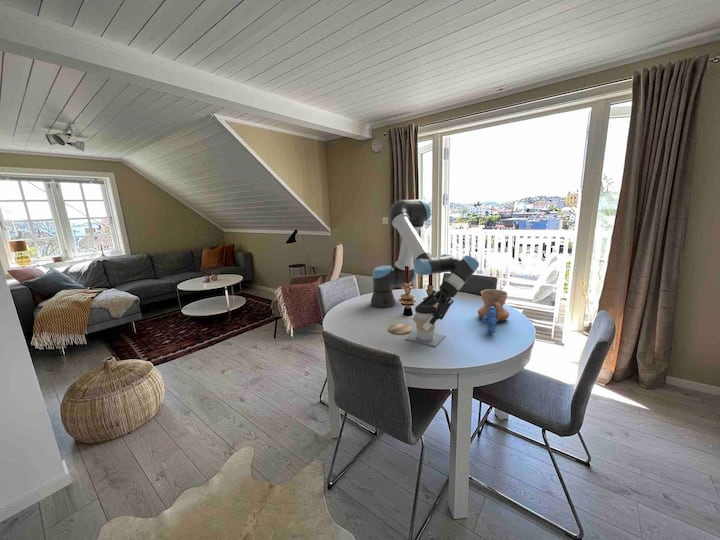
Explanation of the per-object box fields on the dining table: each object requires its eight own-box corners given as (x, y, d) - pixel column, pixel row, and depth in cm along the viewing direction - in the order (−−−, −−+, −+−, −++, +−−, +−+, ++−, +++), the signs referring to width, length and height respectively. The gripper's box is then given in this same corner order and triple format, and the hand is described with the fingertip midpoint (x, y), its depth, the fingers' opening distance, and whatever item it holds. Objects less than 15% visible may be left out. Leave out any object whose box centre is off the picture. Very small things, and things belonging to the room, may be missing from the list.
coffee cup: (419, 331, 136) (419, 300, 133) (438, 335, 132) (438, 303, 129) (412, 339, 129) (411, 306, 126) (432, 343, 124) (432, 309, 121)
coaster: (384, 331, 139) (384, 329, 139) (395, 323, 148) (395, 322, 148) (405, 336, 133) (405, 334, 133) (415, 328, 142) (415, 326, 142)
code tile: (404, 339, 129) (404, 338, 129) (416, 330, 139) (416, 329, 139) (435, 347, 121) (435, 346, 121) (445, 336, 131) (445, 335, 131)
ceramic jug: (475, 312, 160) (476, 287, 157) (504, 313, 156) (505, 287, 154) (480, 325, 143) (481, 297, 140) (513, 326, 139) (514, 298, 136)
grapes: (481, 326, 141) (482, 302, 138) (496, 328, 138) (498, 303, 136) (480, 336, 130) (482, 310, 128) (497, 338, 128) (499, 311, 125)
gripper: (472, 297, 120) (437, 339, 119) (442, 285, 141) (413, 321, 140) (461, 286, 118) (426, 329, 116) (433, 275, 138) (402, 311, 137)
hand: (418, 324), depth 128 cm, fingers open, 9 cm apart
